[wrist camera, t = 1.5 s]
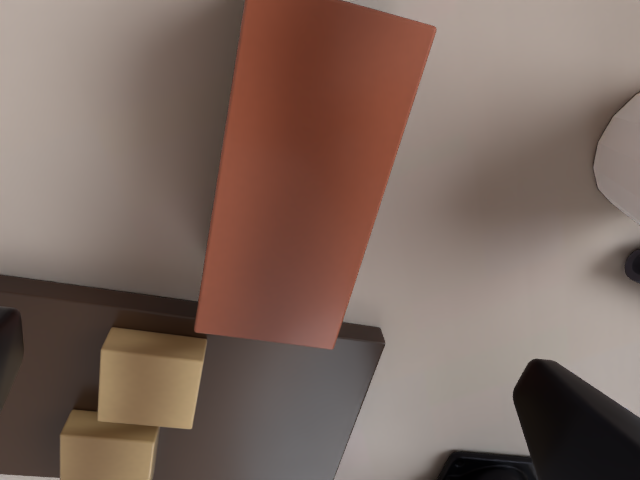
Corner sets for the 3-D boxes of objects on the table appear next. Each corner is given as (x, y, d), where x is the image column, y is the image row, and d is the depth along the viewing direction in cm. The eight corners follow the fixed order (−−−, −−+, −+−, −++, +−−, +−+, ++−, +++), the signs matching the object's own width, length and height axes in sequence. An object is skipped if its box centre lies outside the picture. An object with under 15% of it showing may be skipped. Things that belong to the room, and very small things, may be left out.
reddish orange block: (395, 19, 16) (439, 27, 12) (320, 281, 21) (333, 351, 17) (253, -20, 15) (248, -26, 11) (208, 264, 20) (192, 333, 16)
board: (380, 327, 23) (386, 343, 22) (325, 476, 27) (328, 495, 26) (-89, 261, 19) (-111, 277, 18) (-60, 448, 23) (-75, 470, 22)
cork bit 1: (207, 338, 20) (203, 361, 19) (196, 404, 22) (191, 430, 21) (111, 326, 20) (99, 349, 18) (107, 395, 21) (96, 422, 20)
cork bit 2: (161, 416, 22) (154, 443, 21) (154, 472, 24) (147, 499, 23) (72, 408, 22) (58, 435, 20) (70, 466, 23) (58, 494, 22)
